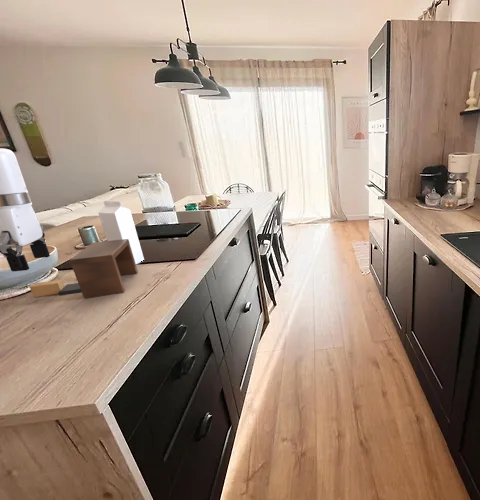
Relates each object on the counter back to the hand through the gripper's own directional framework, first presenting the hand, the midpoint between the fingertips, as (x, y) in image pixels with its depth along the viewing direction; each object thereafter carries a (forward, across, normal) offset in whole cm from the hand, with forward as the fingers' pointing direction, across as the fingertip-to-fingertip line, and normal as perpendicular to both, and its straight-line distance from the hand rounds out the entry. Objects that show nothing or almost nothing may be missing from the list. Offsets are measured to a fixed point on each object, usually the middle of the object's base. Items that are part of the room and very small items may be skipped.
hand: (32, 263), depth 77 cm
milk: (+9, -17, +16) cm, 25 cm away
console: (+9, 0, +16) cm, 18 cm away
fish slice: (+9, 0, +4) cm, 10 cm away
